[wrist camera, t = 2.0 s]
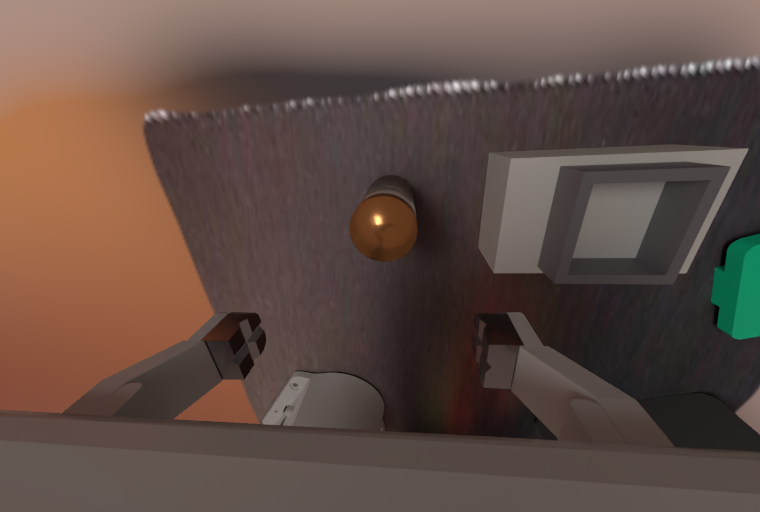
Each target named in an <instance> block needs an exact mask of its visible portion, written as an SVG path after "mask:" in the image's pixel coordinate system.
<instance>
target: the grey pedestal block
mask: <svg viewBox="0 0 760 512" xmlns="http://www.w3.org/2000/svg"><path fill="white" fill-rule="evenodd" d="M747 151H748V149H744V148H727V147H709V146H691V145H674V144H670V145H647V146H624V147H601V148H578V149H555V150H532V151H509V152H489V157H488V166H487V174H486V183H485V191H484V200H483V208H482V217H481V225H480V234H479V242H478V248H479V250H480V252H481V253H482V255H483V256H484V258H485V260H486V261H487V263H488V265H489V266H490V268H491V270H492V271H493V273H544V274H545V275H546V276H547V277H548V278H549V279H550V280H551V281H552V282H553V283H554V284H674V282H675V280H676V278H677V276H678V274H679V273H687V271H688V269H689V267H690V265H691V263H692V261H693V259H694V257H695V255H696V253H697V251H698V249H699V247H700V245H701V243H702V241H703V239H704V237H705V235H706V233H707V231H708V229H709V227H710V225H711V223H712V221H713V219H714V217H715V215H716V213H717V211H718V209H719V207H720V205H721V203H722V201H723V199H724V197H725V195H726V193H727V191H728V189H729V187H730V185H731V183H732V181H733V179H734V177H735V175H736V173H737V171H738V169H739V167H740V165H741V163H742V161H743V159H744V157H745V155H746V153H747Z"/></svg>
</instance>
